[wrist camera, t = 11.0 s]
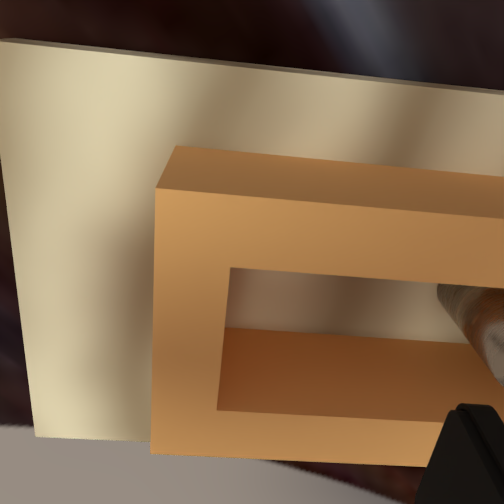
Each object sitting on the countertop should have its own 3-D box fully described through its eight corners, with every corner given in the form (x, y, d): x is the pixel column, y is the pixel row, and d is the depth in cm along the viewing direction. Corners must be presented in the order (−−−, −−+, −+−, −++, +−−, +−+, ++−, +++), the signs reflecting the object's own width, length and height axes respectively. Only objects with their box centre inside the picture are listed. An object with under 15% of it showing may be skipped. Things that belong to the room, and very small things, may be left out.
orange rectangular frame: (631, 189, 17) (756, 241, 13) (539, 387, 21) (613, 475, 17) (175, 145, 16) (155, 187, 12) (167, 364, 20) (150, 453, 15)
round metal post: (507, 261, 18) (587, 330, 14) (488, 314, 19) (556, 394, 15) (446, 256, 18) (509, 325, 14) (429, 310, 19) (483, 390, 15)
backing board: (730, 115, 18) (786, 125, 16) (566, 430, 25) (592, 463, 23) (14, 38, 16) (-15, 39, 14) (51, 403, 23) (35, 436, 21)
